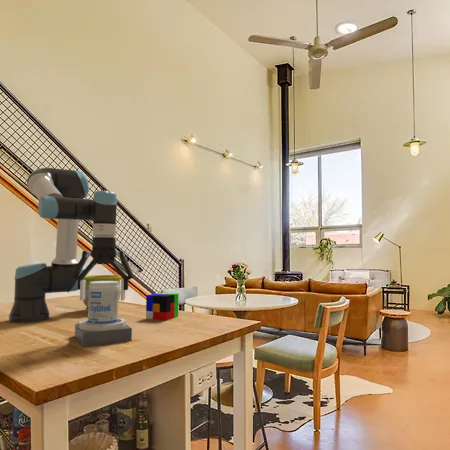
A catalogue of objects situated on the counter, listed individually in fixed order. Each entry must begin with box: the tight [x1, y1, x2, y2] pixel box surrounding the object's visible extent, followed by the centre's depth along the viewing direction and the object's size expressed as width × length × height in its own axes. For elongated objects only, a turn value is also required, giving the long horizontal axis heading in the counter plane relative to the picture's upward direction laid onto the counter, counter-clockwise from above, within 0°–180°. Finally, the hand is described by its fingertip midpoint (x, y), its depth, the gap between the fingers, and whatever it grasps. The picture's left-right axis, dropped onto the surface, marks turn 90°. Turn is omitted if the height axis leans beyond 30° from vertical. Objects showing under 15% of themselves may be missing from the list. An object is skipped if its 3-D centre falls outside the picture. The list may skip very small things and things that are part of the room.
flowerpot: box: [82, 274, 122, 312], centre depth 180 cm, size 18×18×16 cm
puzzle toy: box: [145, 292, 179, 321], centre depth 162 cm, size 10×10×10 cm
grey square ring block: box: [74, 317, 133, 348], centre depth 125 cm, size 16×15×6 cm
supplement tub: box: [87, 281, 119, 325], centre depth 125 cm, size 10×10×15 cm
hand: (102, 299), depth 126 cm, fingers open, 13 cm apart
